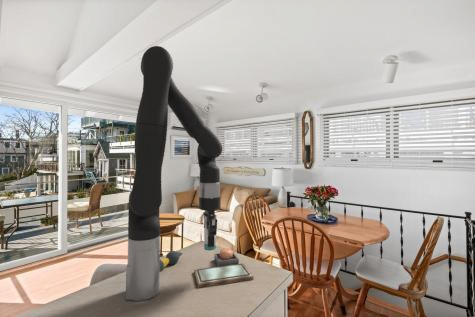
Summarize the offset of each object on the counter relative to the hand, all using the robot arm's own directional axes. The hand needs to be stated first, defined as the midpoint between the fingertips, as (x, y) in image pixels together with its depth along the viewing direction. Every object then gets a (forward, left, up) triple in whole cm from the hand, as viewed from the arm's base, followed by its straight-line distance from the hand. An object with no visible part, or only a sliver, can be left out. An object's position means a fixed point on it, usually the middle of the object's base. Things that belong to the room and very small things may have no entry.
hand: (209, 244), depth 82 cm
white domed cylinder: (0, 0, -1) cm, 1 cm away
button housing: (+9, +10, -12) cm, 18 cm away
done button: (+9, +10, -10) cm, 17 cm away
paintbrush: (-15, +12, -12) cm, 23 cm away
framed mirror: (+5, 0, -12) cm, 13 cm away
